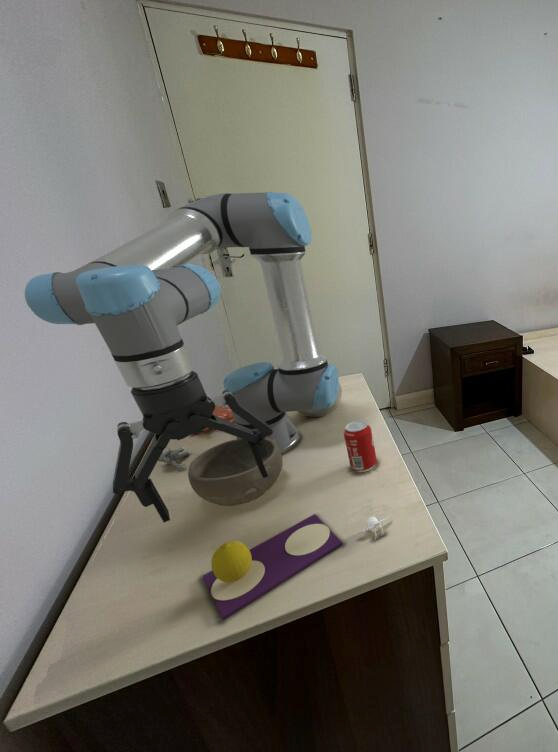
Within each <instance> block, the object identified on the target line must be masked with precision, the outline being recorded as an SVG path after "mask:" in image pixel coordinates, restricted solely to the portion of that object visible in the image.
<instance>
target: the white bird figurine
mask: <svg viewBox="0 0 558 752" xmlns="http://www.w3.org/2000/svg"><path fill="white" fill-rule="evenodd" d="M389 517H390V515H388V516H387V517H384V518H382V519H380V520H378V519H377V518H376V517H375V516H370V517H368V518H367V519H366V521H365V526H366V527H365V528H363V529H362V530H360V531H358V532H356V533H354V534H353V535H357V534H362V533H363V532H365V531H370V532H372V533H374V540H376V539H378V538H379V536H378V534H377V532H378V531H379V530H380V529H381V537H382V536H384V535H385V532H384V529H383V527H382V523H383V522H385V521H386V520H387V519H389Z"/></svg>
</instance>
